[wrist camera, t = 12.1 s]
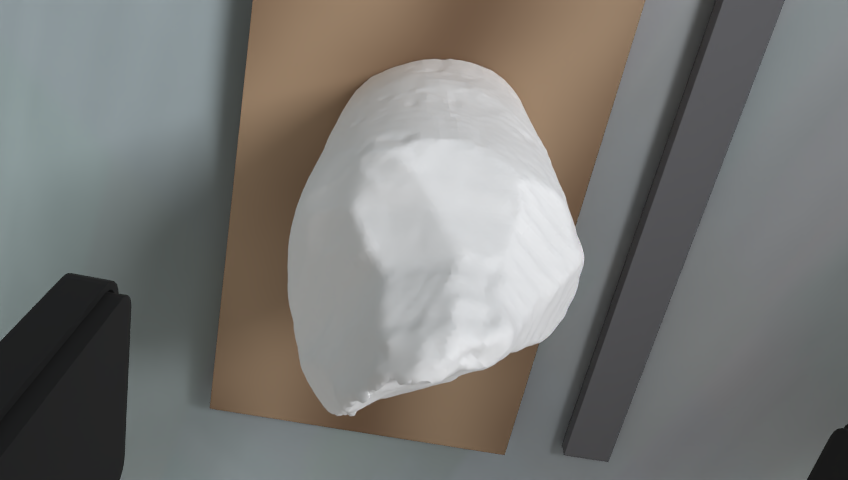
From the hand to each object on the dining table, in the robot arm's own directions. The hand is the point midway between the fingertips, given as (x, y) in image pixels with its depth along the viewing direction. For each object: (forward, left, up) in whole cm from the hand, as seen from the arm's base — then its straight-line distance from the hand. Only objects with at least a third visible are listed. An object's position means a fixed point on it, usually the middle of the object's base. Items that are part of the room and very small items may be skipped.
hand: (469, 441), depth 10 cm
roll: (0, 0, -13) cm, 13 cm away
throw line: (-7, 0, -14) cm, 16 cm away
